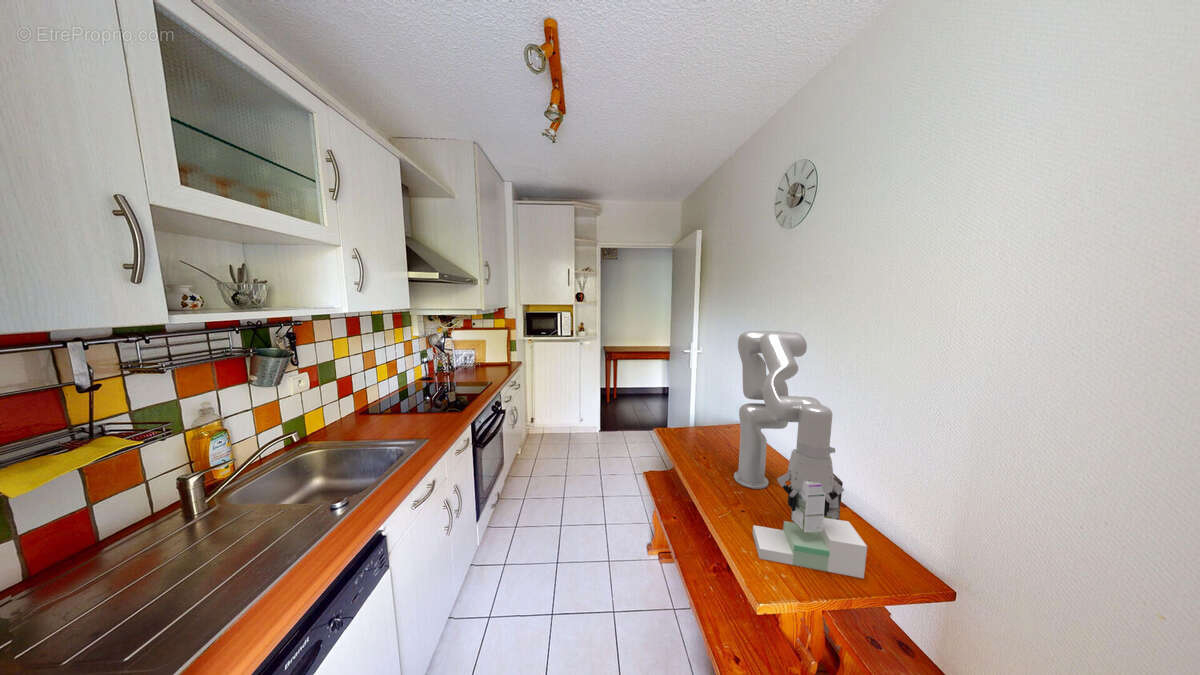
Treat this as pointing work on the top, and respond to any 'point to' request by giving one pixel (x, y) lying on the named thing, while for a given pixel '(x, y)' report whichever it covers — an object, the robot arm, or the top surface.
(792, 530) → the stepped riser
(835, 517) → the coffee box
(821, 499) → the syrup box
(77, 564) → the top surface
